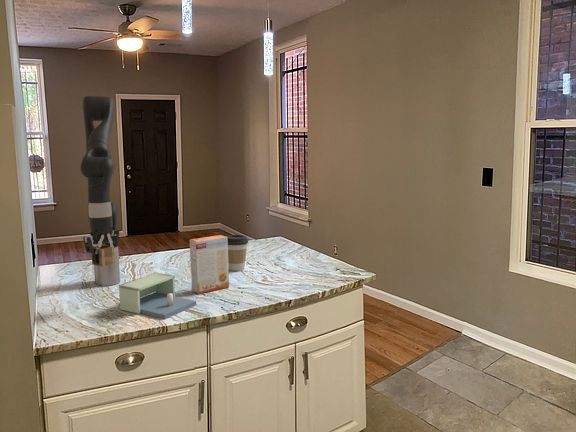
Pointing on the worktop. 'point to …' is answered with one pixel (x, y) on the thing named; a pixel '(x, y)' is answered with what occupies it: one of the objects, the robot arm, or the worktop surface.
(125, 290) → the cover
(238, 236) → the coffee cup
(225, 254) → the cracker box
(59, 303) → the worktop surface
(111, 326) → the worktop surface
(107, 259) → the wooden box
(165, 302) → the base
